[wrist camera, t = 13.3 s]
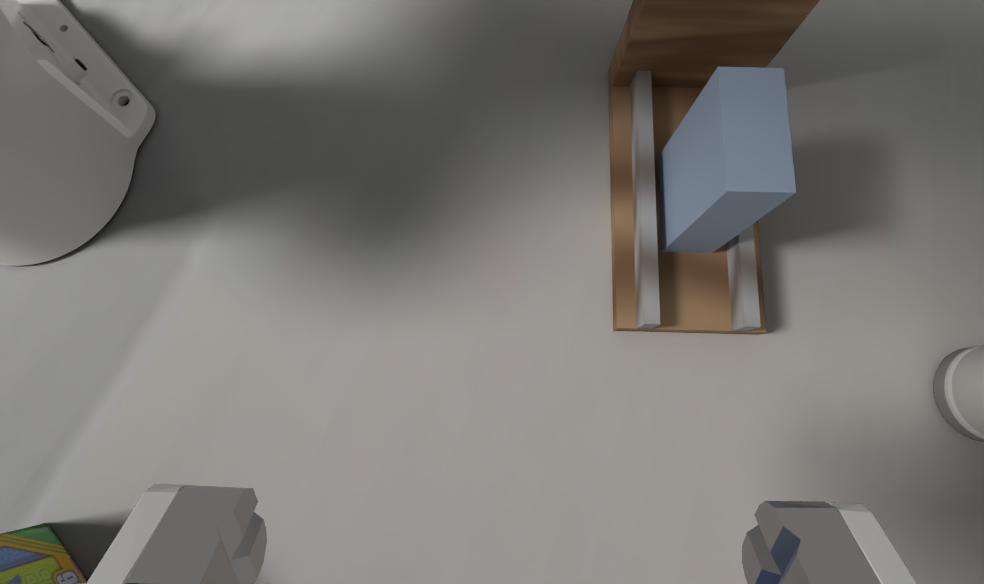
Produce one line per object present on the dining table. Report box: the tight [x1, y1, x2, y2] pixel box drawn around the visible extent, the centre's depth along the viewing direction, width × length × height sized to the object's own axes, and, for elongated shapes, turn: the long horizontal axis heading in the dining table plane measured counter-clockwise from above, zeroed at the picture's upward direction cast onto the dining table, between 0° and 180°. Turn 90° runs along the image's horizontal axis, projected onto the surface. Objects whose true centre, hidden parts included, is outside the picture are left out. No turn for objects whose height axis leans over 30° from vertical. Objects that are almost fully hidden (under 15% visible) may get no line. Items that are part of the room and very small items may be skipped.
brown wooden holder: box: [609, 0, 819, 334], centre depth 35 cm, size 20×10×13 cm, turn 179°
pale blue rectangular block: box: [658, 67, 796, 253], centre depth 35 cm, size 7×4×11 cm, turn 179°
